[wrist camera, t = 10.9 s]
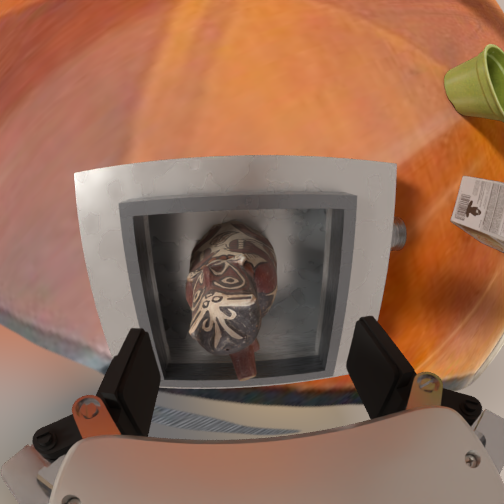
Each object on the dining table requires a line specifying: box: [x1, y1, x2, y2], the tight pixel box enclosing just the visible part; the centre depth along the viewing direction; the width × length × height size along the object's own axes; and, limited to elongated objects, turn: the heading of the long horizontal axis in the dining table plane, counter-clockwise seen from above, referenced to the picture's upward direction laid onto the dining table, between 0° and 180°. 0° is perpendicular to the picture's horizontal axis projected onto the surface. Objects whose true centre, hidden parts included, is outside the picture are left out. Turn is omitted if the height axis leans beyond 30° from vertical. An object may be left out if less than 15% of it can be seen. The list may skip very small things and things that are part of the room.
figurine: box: [185, 221, 278, 381], centre depth 18 cm, size 7×7×12 cm
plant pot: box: [444, 44, 504, 122], centre depth 17 cm, size 9×9×9 cm
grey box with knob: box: [74, 155, 406, 389], centre depth 21 cm, size 25×18×9 cm
